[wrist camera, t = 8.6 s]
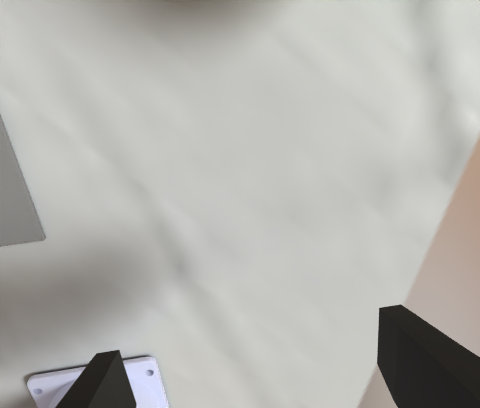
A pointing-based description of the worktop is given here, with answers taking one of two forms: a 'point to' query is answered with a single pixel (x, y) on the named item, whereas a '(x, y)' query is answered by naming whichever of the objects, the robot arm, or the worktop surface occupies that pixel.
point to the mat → (15, 200)
